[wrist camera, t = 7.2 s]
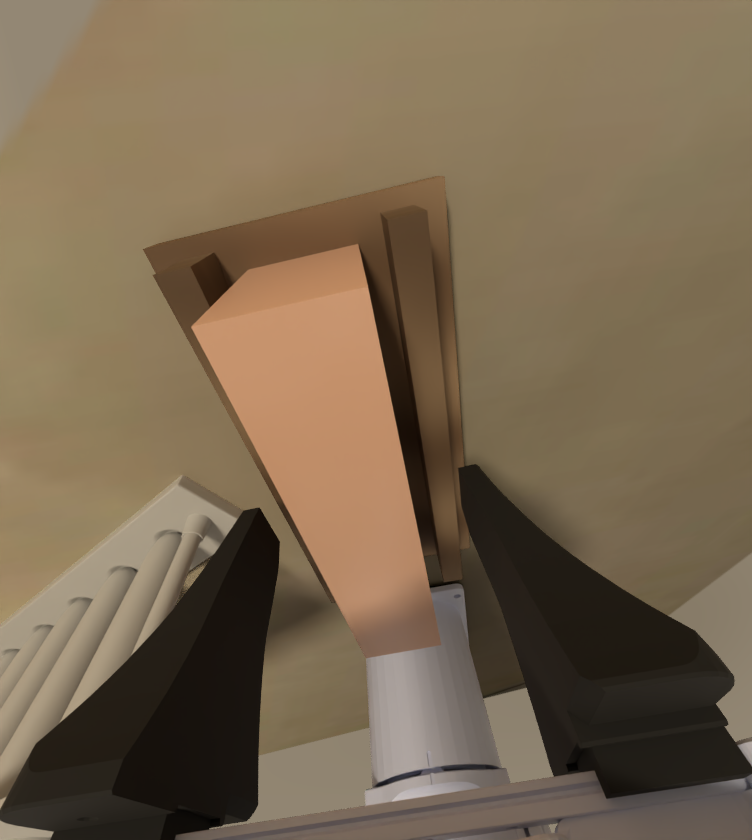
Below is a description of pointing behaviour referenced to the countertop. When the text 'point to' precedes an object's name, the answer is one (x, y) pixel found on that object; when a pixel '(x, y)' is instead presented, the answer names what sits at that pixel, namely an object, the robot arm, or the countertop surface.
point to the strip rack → (395, 321)
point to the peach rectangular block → (328, 434)
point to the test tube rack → (98, 619)
